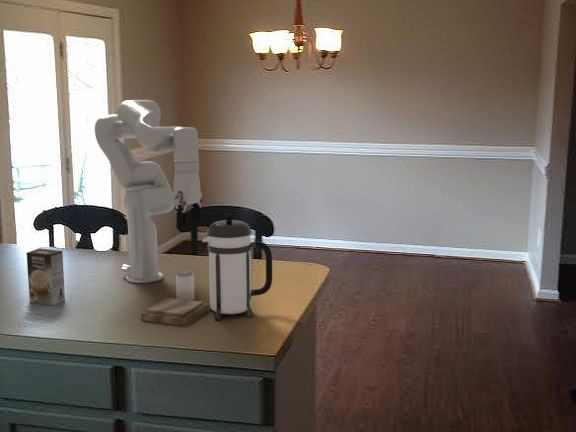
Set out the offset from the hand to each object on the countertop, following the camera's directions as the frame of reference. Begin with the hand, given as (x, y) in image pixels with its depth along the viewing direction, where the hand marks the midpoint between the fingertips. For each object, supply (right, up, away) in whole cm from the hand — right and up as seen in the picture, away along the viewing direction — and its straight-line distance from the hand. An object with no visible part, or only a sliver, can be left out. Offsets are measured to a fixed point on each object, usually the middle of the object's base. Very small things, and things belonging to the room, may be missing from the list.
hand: (189, 222), depth 216 cm
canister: (-2, -24, +2) cm, 24 cm away
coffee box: (-44, -25, 0) cm, 51 cm away
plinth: (-2, -27, -14) cm, 30 cm away
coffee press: (+15, -27, -11) cm, 32 cm away
